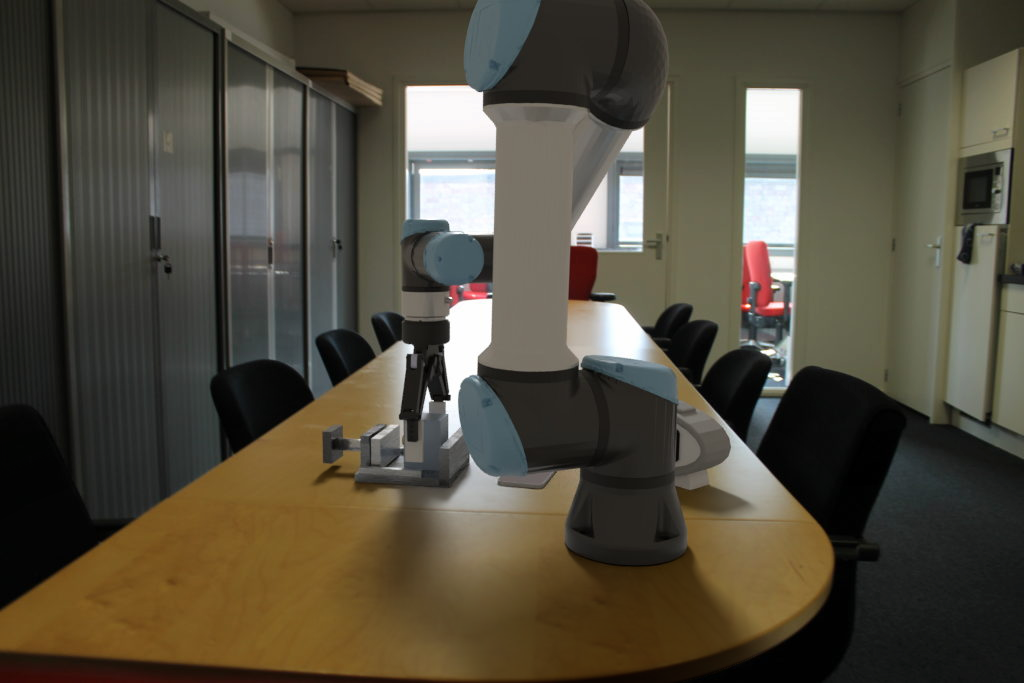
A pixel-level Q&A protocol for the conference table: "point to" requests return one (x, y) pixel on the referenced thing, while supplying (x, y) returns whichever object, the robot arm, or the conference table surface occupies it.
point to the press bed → (450, 467)
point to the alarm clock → (697, 446)
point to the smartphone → (527, 480)
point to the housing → (430, 441)
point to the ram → (382, 445)
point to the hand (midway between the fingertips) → (426, 450)
